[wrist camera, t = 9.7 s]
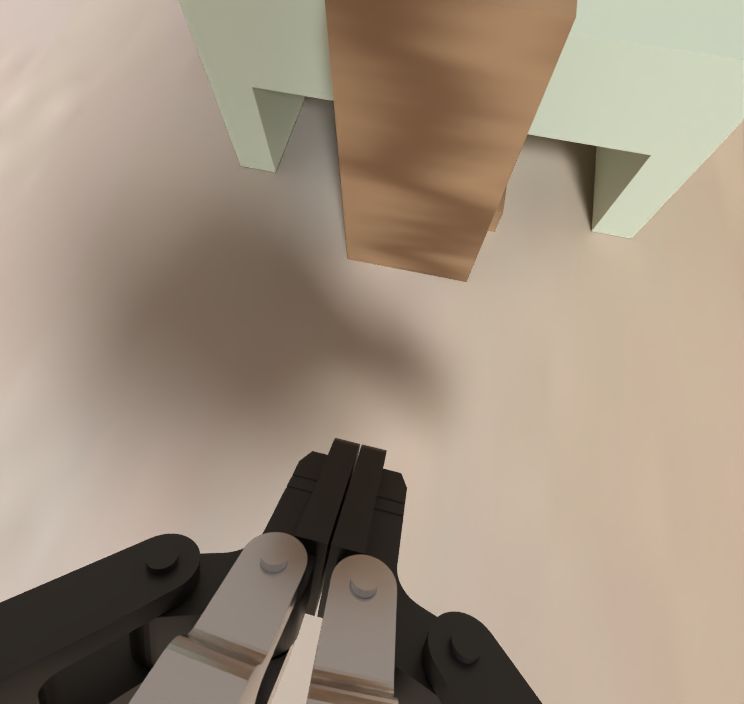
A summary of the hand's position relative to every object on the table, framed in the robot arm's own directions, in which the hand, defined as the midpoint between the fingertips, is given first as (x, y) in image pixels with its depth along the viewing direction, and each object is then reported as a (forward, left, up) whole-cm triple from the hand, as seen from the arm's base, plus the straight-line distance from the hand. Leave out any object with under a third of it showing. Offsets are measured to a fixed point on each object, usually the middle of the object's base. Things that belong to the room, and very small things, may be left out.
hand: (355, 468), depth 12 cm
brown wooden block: (0, -18, -6) cm, 19 cm away
